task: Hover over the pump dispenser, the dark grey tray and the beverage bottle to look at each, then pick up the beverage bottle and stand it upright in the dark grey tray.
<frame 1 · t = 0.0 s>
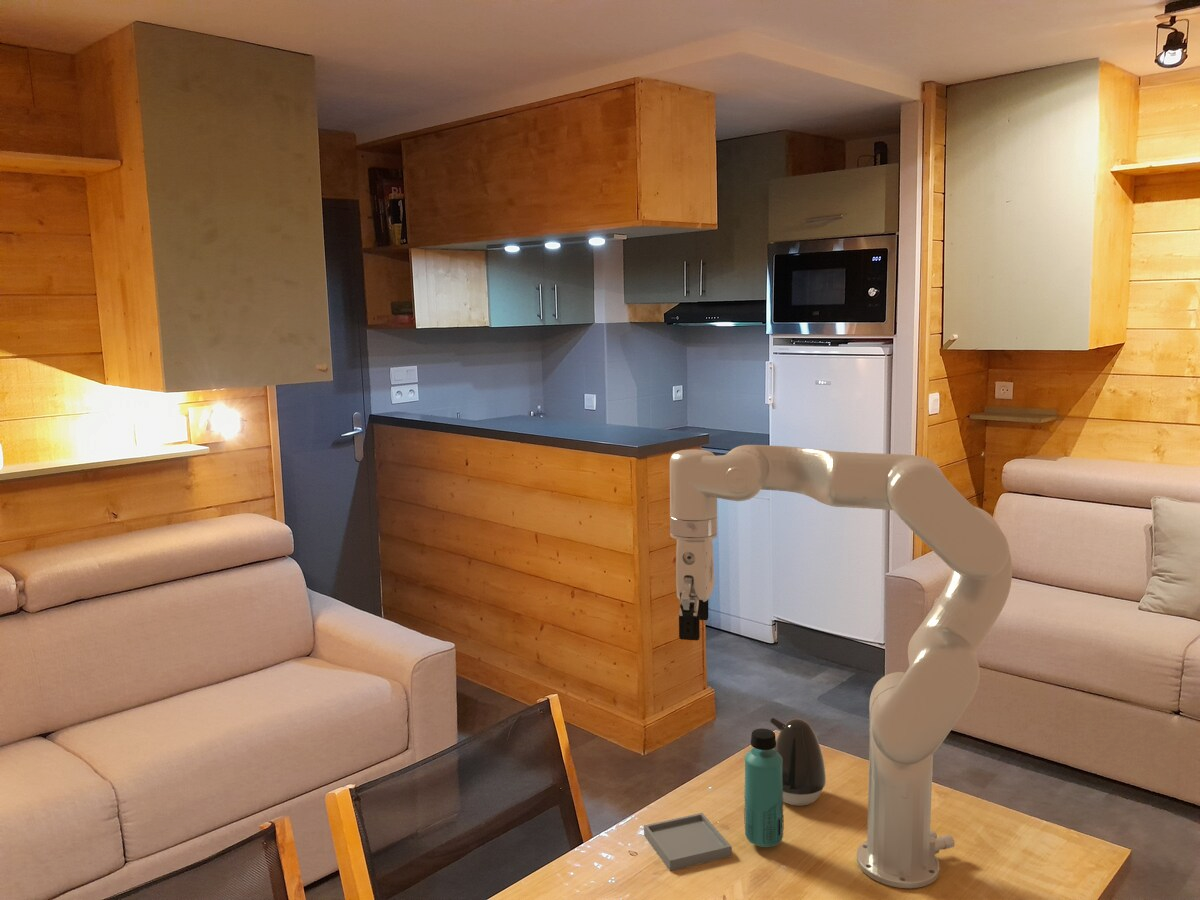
hand: (694, 629, 152), 37 cm above the table, tool pointing down, fingers open, 9 cm apart
pump dispenser: (796, 799, 170), on the table
tray: (686, 845, 155), on the table
beverage bottle: (763, 846, 155), on the table
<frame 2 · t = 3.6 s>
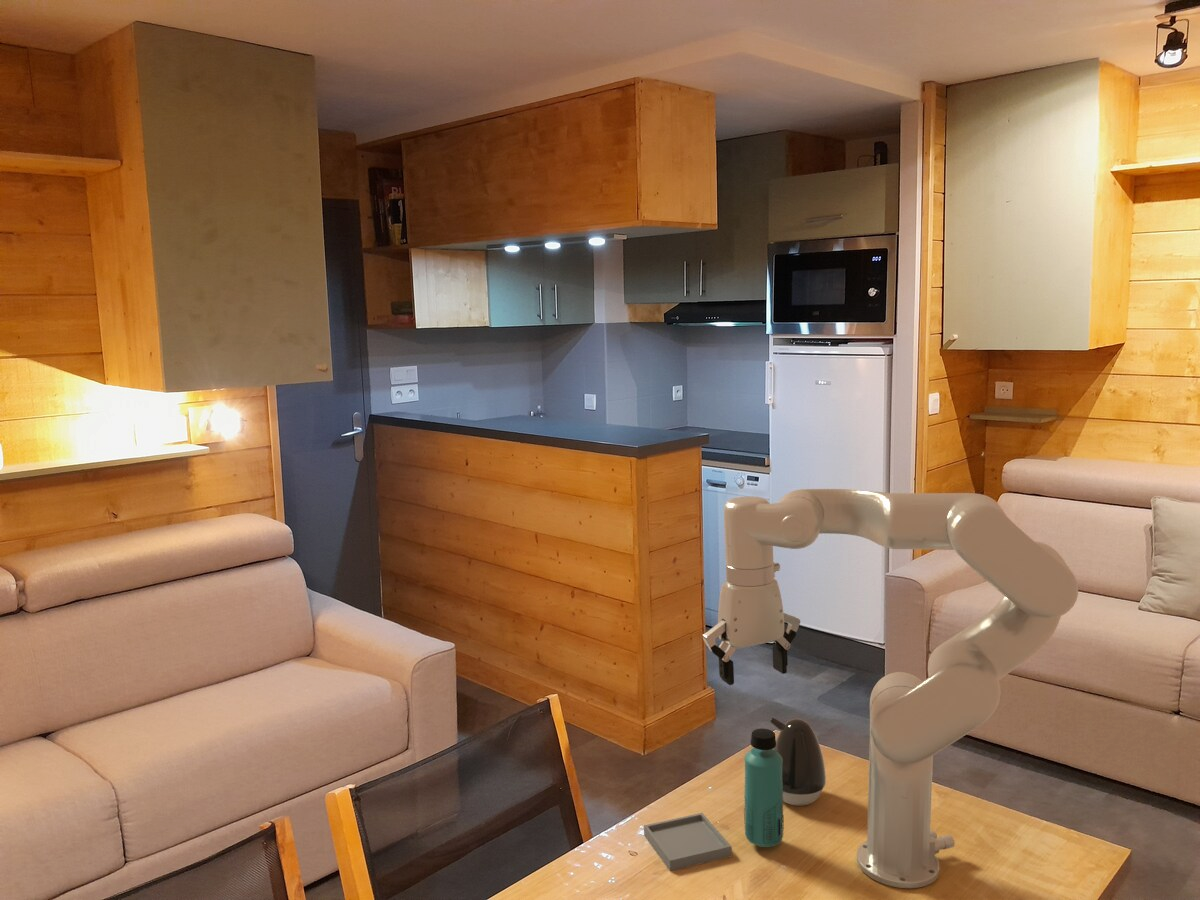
hand: (754, 676, 151), 30 cm above the table, tool pointing down, fingers open, 9 cm apart
nothing on the table moved.
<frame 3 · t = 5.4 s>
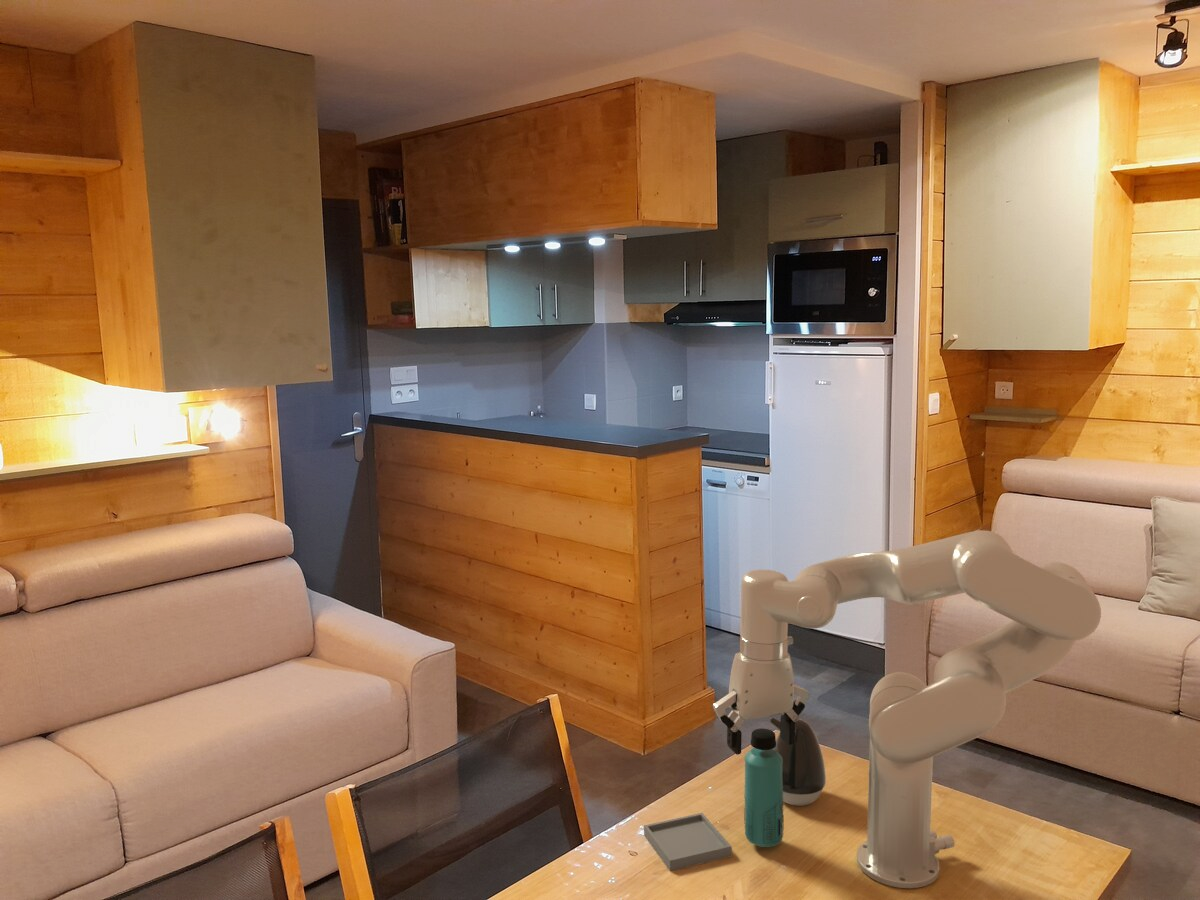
hand: (760, 746, 153), 18 cm above the table, tool pointing down, fingers open, 9 cm apart
nothing on the table moved.
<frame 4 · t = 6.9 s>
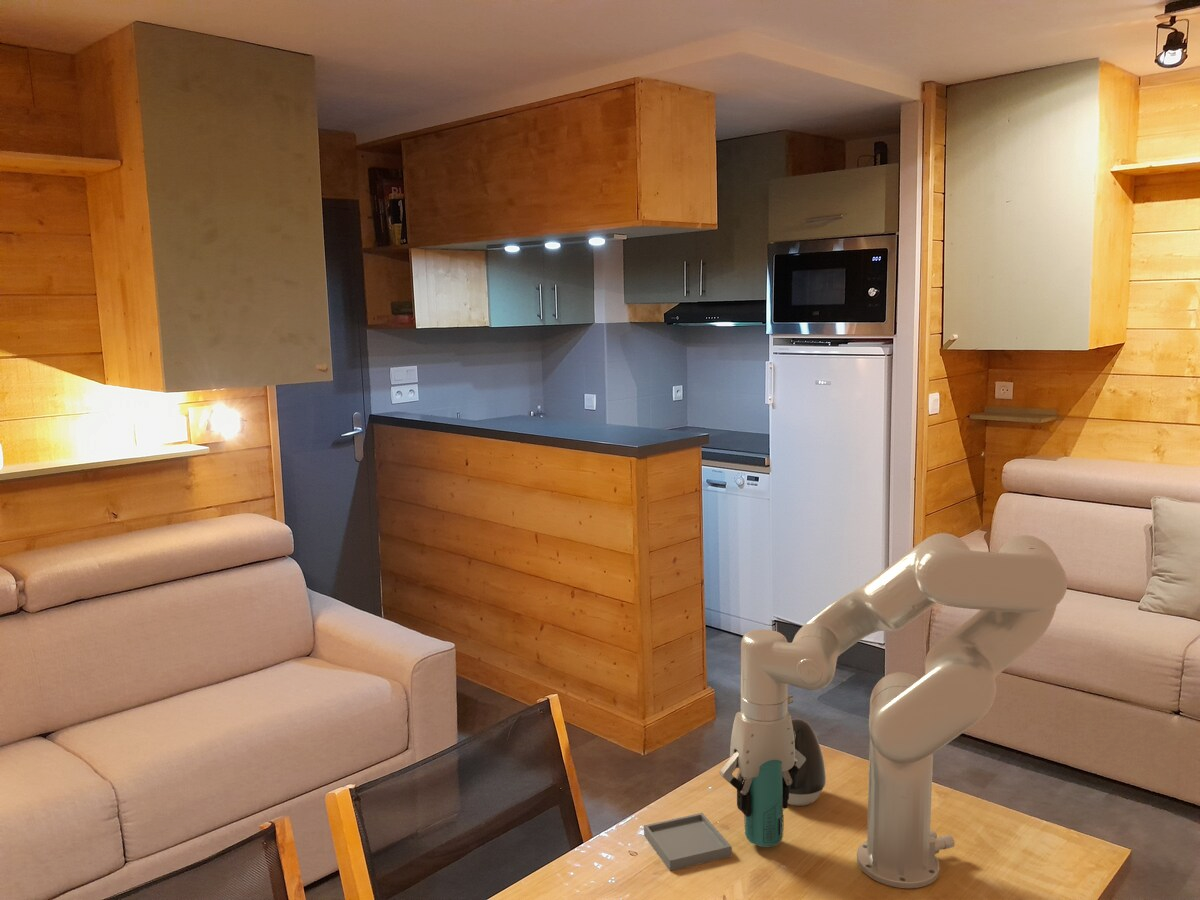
hand: (762, 807, 154), 7 cm above the table, tool pointing down, fingers closed on beverage bottle, 6 cm apart
beverage bottle: (763, 845, 155), on the table, touching gripper
everything else where it was.
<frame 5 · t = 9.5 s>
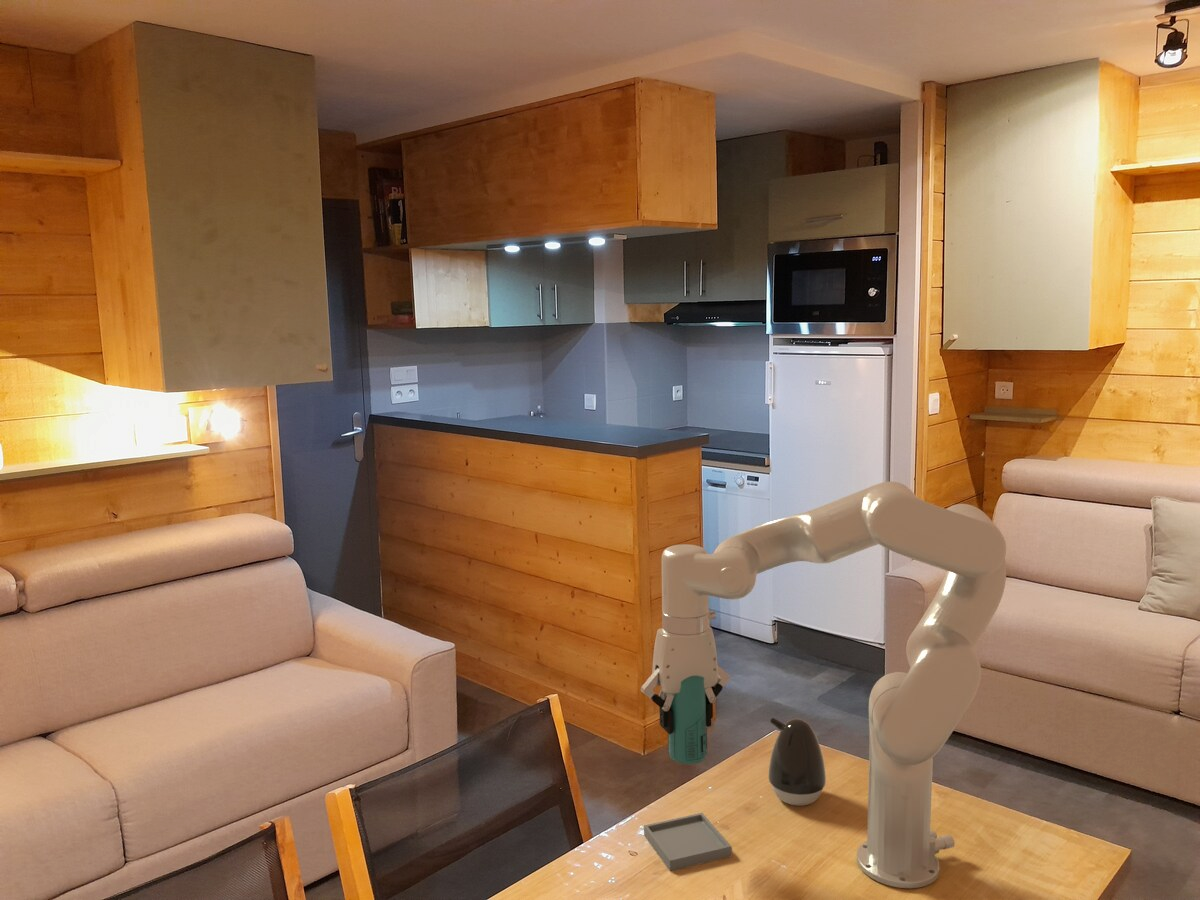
hand: (686, 725, 152), 21 cm above the table, tool pointing down, fingers closed on beverage bottle, 6 cm apart
beverage bottle: (687, 764, 153), point 14 cm above the table, touching gripper
everything else where it was.
when the fingers open (9 cm above the table, at t = 12.2 s): beverage bottle drops 1 cm, resting on tray.
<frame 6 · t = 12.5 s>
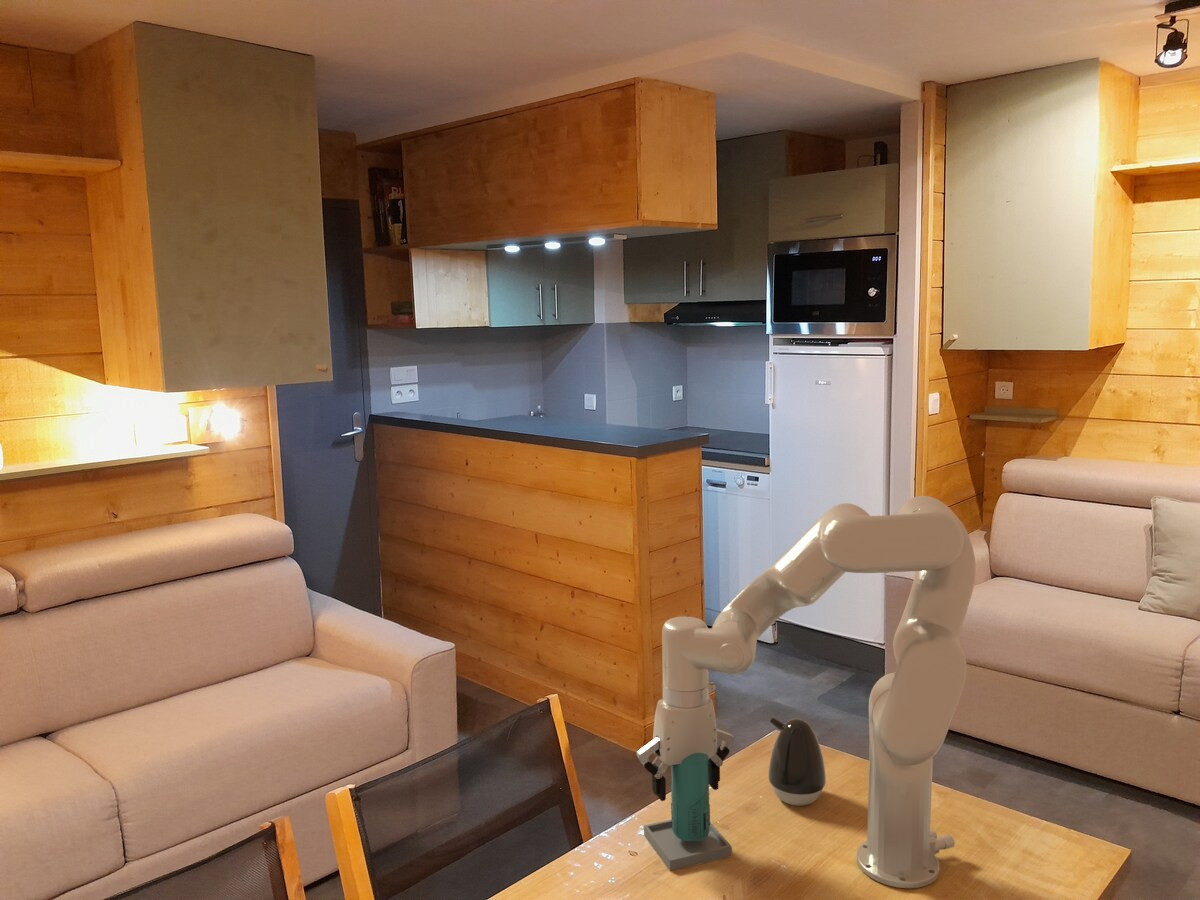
hand: (686, 791, 154), 10 cm above the table, tool pointing down, fingers open, 9 cm apart
beverage bottle: (690, 840, 155), point 1 cm above the table, touching tray
everything else where it was.
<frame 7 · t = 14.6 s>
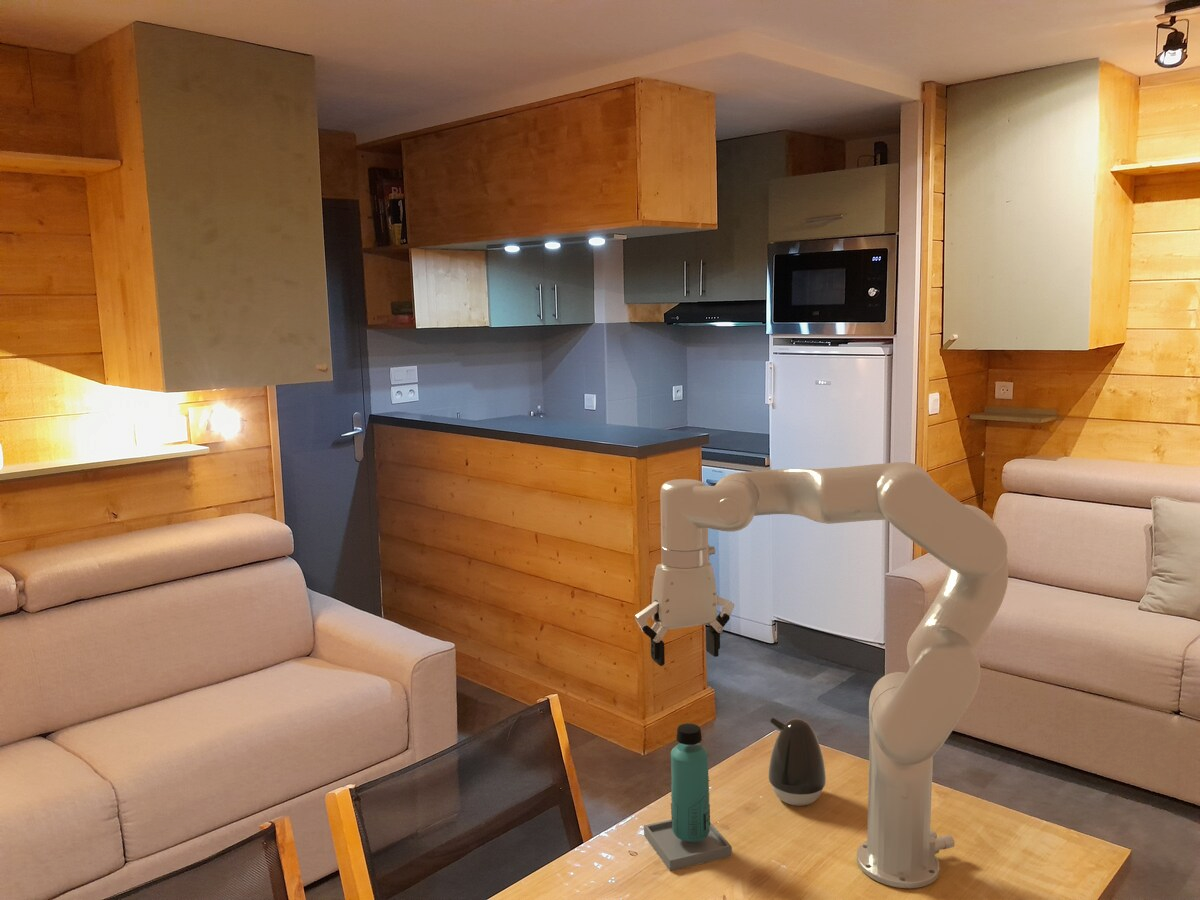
hand: (685, 658, 151), 33 cm above the table, tool pointing down, fingers open, 9 cm apart
nothing on the table moved.
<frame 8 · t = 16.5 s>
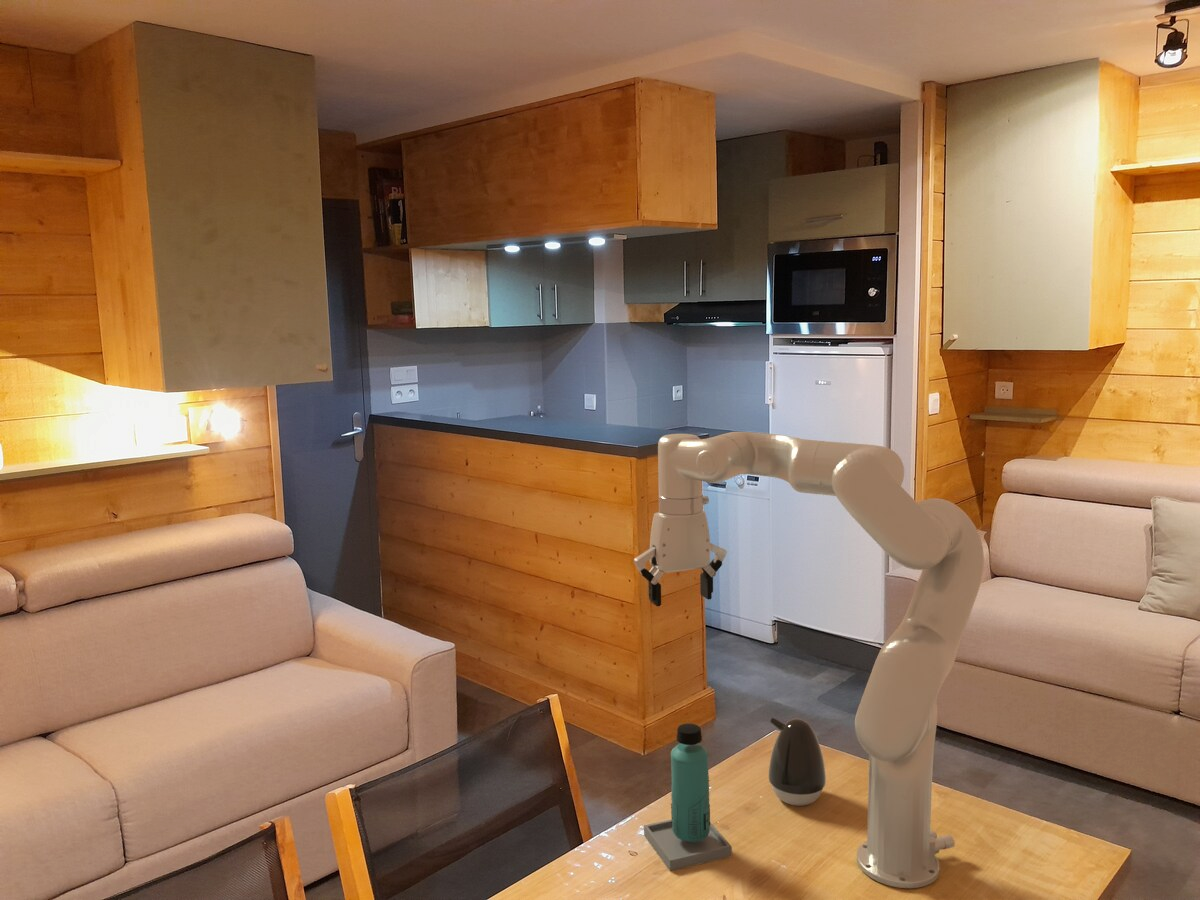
hand: (681, 600, 163), 38 cm above the table, tool pointing down, fingers open, 9 cm apart
nothing on the table moved.
at the end: beverage bottle inside the target area on the tray (0.6 cm from its centre), point 0.8 cm above the tray's base; beverage bottle tilted 0°; the gripper is holding nothing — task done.
